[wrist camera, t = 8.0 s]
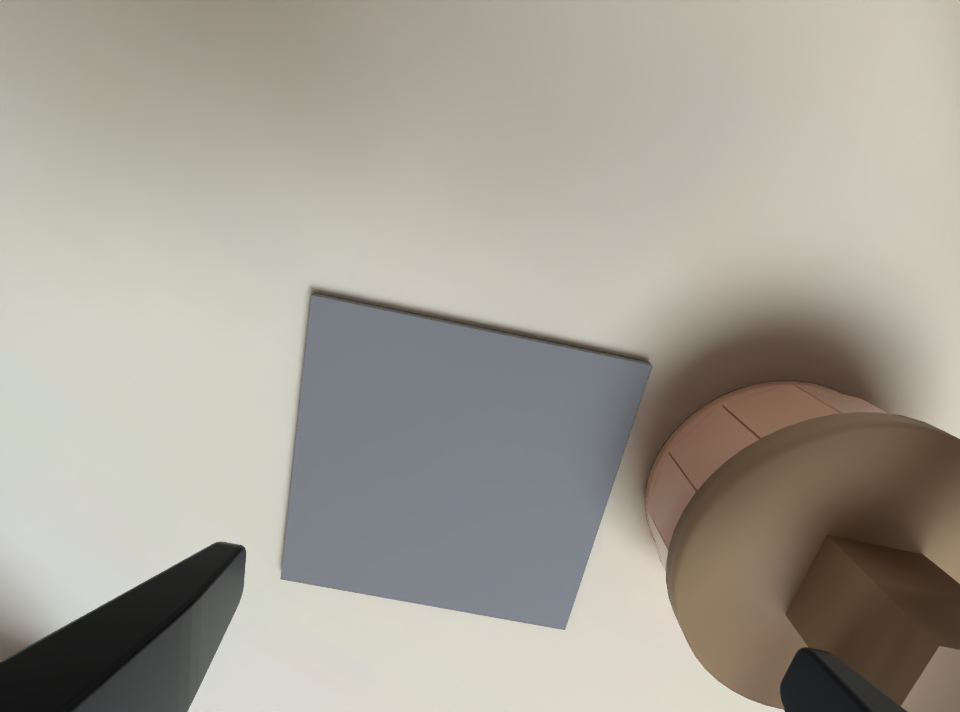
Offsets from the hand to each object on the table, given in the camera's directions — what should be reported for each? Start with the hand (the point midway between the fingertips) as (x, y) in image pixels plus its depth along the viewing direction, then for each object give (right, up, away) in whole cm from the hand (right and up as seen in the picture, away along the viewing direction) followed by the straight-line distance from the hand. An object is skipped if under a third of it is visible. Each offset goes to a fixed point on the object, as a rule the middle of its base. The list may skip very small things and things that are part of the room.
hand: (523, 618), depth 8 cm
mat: (-2, -1, +13) cm, 13 cm away
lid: (+11, -3, +9) cm, 15 cm away
